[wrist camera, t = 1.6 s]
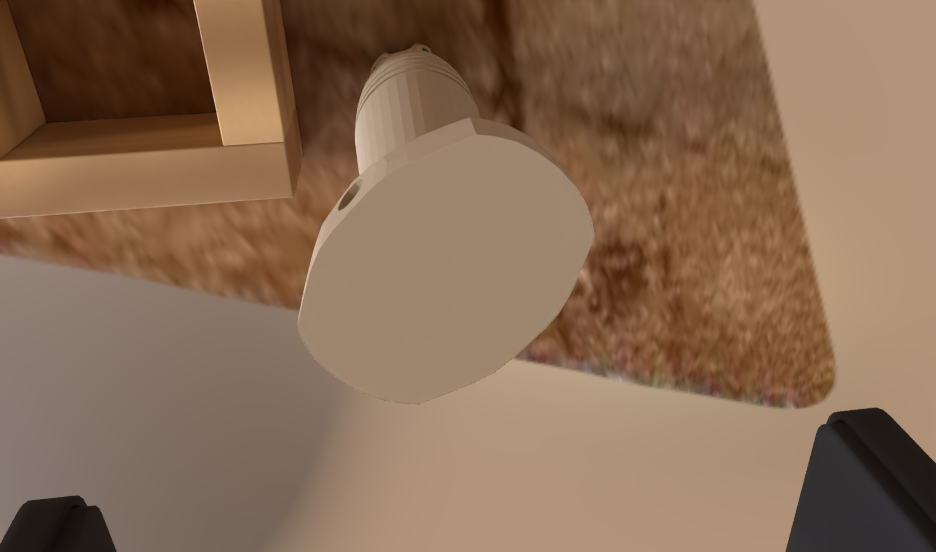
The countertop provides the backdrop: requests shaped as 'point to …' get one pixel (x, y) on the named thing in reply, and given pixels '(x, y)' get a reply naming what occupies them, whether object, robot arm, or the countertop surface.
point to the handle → (438, 240)
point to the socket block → (159, 130)
